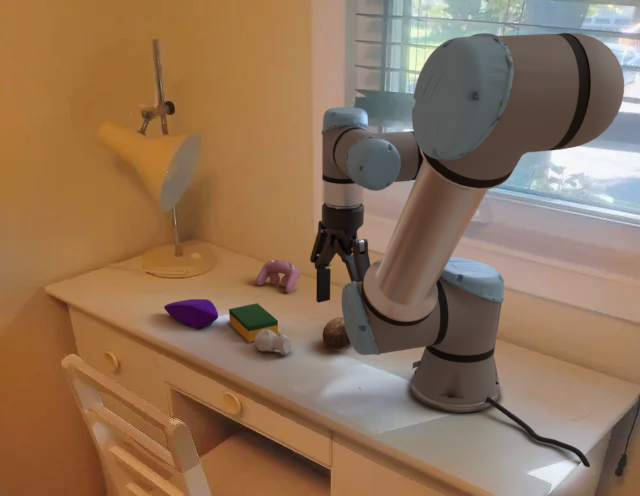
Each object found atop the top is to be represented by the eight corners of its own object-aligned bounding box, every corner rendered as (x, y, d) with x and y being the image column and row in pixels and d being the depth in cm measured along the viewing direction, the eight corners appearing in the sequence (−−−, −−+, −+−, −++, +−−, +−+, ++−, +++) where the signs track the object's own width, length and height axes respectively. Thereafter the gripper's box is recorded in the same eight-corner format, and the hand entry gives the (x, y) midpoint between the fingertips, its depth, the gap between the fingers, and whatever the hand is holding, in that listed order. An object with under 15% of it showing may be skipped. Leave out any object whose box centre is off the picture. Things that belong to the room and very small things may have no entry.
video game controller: (298, 295, 167) (305, 265, 165) (288, 292, 162) (295, 262, 161) (263, 286, 171) (270, 257, 170) (253, 284, 167) (260, 254, 166)
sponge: (278, 335, 145) (277, 320, 143) (249, 342, 142) (248, 327, 140) (258, 317, 152) (257, 303, 150) (229, 323, 150) (228, 308, 148)
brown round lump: (368, 323, 142) (352, 303, 138) (366, 353, 138) (350, 334, 134) (334, 335, 146) (318, 316, 142) (331, 365, 142) (314, 346, 138)
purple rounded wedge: (169, 292, 154) (223, 300, 146) (173, 314, 156) (227, 323, 149) (154, 300, 150) (208, 308, 143) (158, 321, 153) (212, 331, 145)
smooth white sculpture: (251, 353, 141) (269, 338, 143) (278, 365, 136) (297, 350, 138) (245, 336, 138) (263, 321, 140) (272, 348, 133) (291, 333, 135)
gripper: (400, 219, 118) (392, 334, 130) (327, 183, 136) (325, 287, 148) (361, 226, 115) (357, 343, 127) (292, 188, 133) (293, 294, 145)
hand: (340, 313), depth 138 cm, fingers open, 13 cm apart
